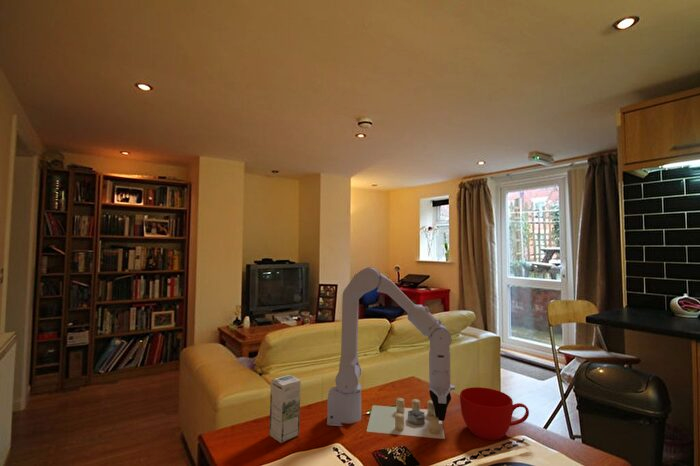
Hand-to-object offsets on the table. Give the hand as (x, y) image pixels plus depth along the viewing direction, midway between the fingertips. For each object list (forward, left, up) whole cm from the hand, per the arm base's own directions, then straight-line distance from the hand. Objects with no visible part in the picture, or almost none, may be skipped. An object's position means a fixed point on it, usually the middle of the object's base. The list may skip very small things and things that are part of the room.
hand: (440, 419), depth 95 cm
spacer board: (-10, 0, -2) cm, 10 cm away
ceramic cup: (+14, -2, -2) cm, 14 cm away
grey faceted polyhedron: (-6, 0, -1) cm, 7 cm away
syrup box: (-40, -12, -2) cm, 42 cm away
